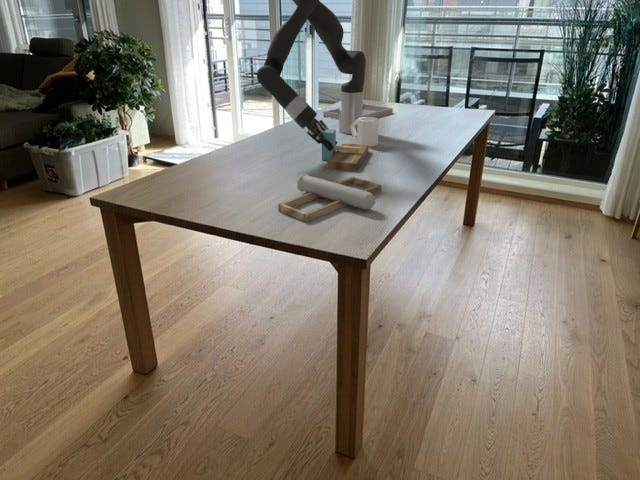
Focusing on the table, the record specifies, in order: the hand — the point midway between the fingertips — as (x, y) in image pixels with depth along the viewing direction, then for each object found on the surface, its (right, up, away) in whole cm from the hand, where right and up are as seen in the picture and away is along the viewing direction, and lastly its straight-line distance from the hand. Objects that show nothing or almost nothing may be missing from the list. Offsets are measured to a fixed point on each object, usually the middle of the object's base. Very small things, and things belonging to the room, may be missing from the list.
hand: (333, 146), depth 172 cm
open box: (+5, -5, +1) cm, 7 cm away
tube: (0, -22, -36) cm, 42 cm away
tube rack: (-1, -22, -35) cm, 41 cm away
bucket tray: (+14, +30, +70) cm, 77 cm away
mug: (+12, +5, +21) cm, 25 cm away
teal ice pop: (+3, -4, +1) cm, 5 cm away
